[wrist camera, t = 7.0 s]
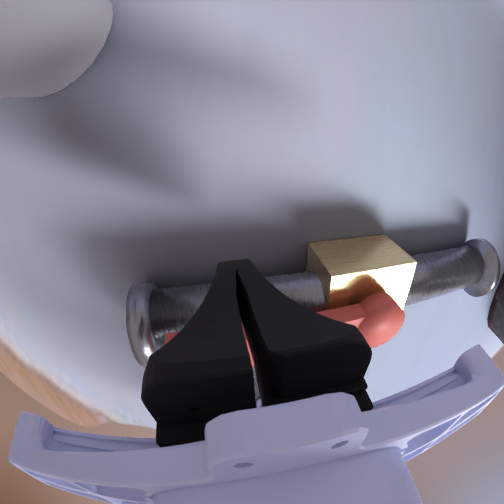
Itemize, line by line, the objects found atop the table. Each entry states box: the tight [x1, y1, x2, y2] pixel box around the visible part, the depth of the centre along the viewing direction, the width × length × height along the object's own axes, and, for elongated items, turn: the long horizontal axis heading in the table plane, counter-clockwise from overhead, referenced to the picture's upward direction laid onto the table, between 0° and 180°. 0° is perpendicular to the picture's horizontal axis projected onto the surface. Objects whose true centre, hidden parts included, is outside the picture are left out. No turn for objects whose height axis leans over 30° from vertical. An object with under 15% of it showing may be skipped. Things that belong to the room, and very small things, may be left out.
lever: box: [164, 292, 405, 366], centre depth 14 cm, size 14×3×1 cm, turn 93°
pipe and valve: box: [126, 234, 500, 367], centre depth 17 cm, size 6×28×5 cm, turn 93°
